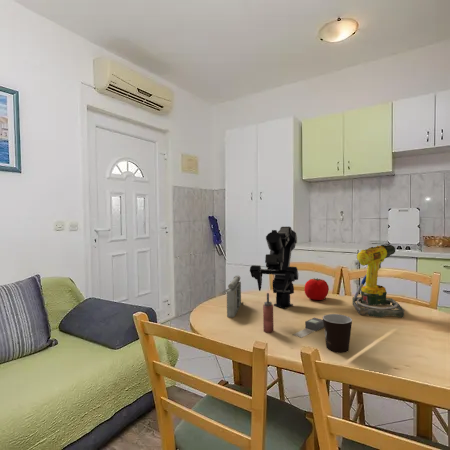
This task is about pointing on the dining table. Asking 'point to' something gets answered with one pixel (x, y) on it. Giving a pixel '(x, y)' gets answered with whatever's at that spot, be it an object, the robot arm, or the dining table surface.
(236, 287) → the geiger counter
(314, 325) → the finder
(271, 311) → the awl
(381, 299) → the cordless drill
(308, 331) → the subfloor panel
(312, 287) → the tomato
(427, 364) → the dining table surface
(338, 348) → the coffee mug
